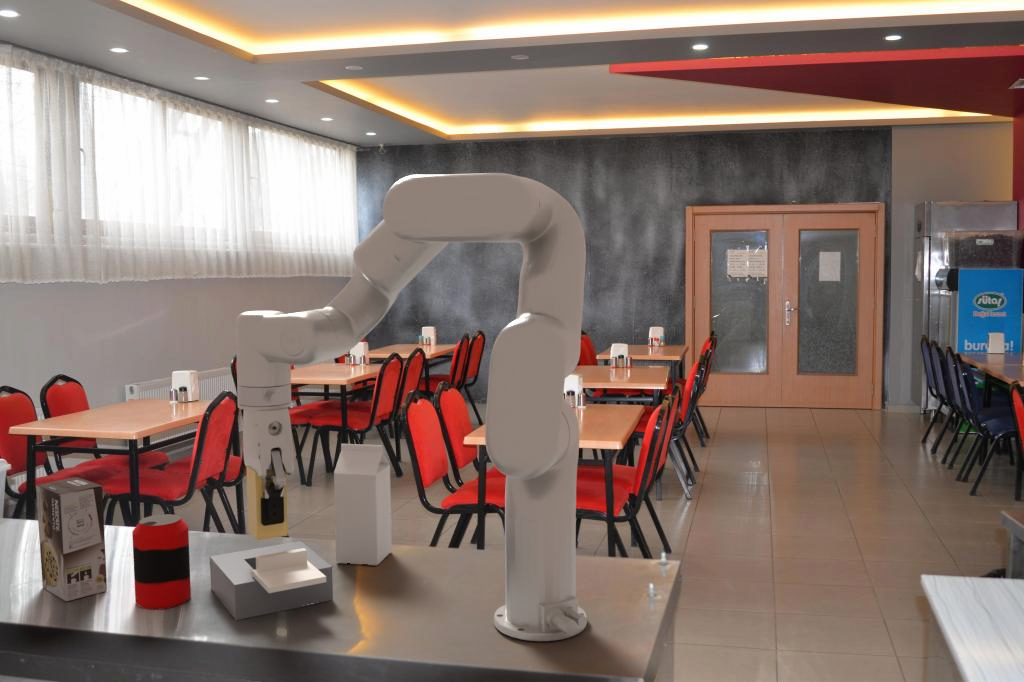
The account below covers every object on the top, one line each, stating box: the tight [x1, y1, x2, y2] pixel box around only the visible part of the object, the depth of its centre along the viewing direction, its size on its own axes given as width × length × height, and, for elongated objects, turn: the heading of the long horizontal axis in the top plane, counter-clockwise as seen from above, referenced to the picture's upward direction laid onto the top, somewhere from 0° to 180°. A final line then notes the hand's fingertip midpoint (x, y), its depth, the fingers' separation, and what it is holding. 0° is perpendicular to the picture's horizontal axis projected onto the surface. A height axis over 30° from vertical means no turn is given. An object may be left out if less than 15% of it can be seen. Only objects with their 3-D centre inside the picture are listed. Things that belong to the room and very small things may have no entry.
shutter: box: [252, 548, 326, 593], centre depth 131 cm, size 8×8×3 cm
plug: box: [246, 466, 289, 541], centre depth 137 cm, size 4×4×12 cm
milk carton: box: [333, 443, 393, 566], centre depth 154 cm, size 7×7×19 cm
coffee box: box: [35, 476, 108, 602], centre depth 140 cm, size 9×6×16 cm
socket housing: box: [209, 540, 334, 621], centre depth 138 cm, size 14×14×5 cm
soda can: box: [131, 513, 192, 610], centre depth 136 cm, size 8×8×12 cm
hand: (267, 518), depth 138 cm, fingers closed on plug, 4 cm apart
